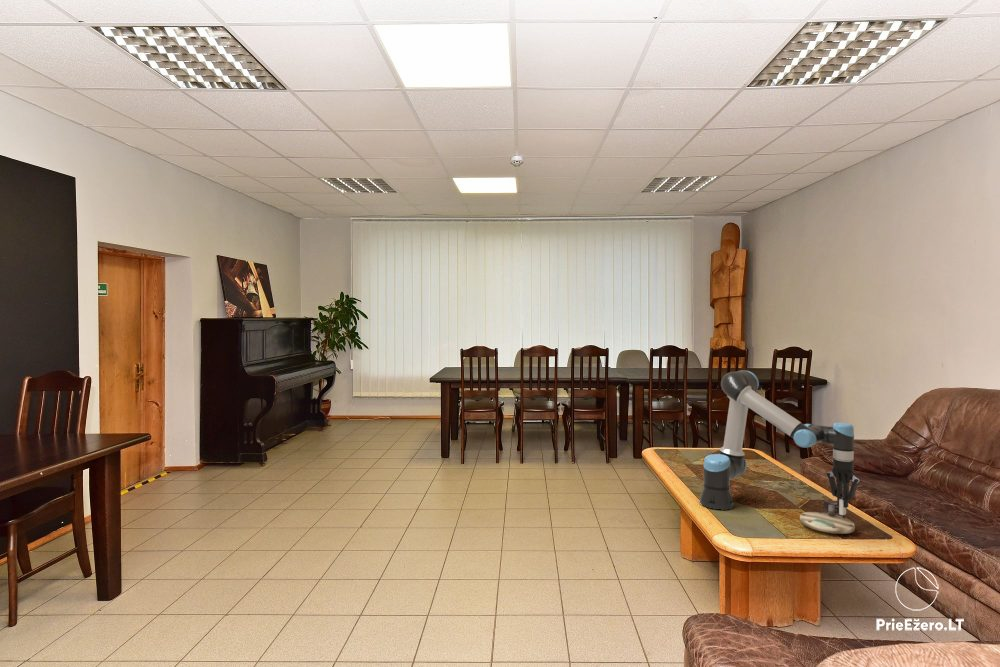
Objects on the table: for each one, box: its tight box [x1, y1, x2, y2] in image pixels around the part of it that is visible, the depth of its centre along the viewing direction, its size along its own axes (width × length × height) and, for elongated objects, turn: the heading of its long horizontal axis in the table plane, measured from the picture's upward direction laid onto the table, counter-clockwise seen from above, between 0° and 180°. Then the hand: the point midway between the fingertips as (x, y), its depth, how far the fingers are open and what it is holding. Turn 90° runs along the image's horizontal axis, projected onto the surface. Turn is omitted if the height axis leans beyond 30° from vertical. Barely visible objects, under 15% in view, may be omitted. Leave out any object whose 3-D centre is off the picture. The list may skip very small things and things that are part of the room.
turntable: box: [799, 505, 855, 535], centre depth 232 cm, size 20×20×6 cm
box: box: [822, 499, 846, 518], centre depth 244 cm, size 6×6×7 cm
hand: (842, 514), depth 233 cm, fingers closed
